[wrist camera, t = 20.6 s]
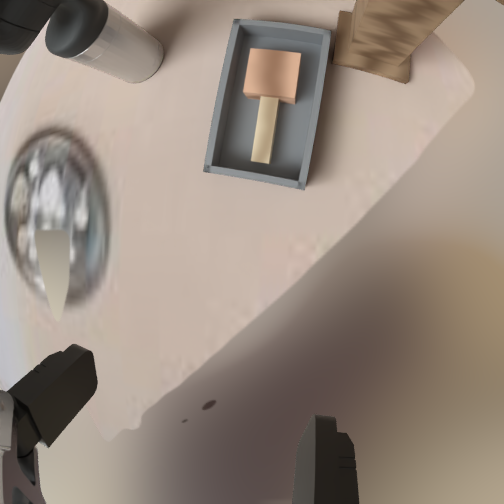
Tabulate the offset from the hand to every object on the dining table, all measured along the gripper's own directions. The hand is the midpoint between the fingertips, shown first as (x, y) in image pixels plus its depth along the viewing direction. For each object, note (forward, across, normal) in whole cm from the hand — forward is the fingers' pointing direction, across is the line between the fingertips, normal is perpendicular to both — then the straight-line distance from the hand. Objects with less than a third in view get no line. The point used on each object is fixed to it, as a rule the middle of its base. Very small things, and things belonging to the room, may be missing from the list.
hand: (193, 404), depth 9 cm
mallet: (+37, -4, +16) cm, 41 cm away
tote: (+38, -4, +18) cm, 42 cm away
